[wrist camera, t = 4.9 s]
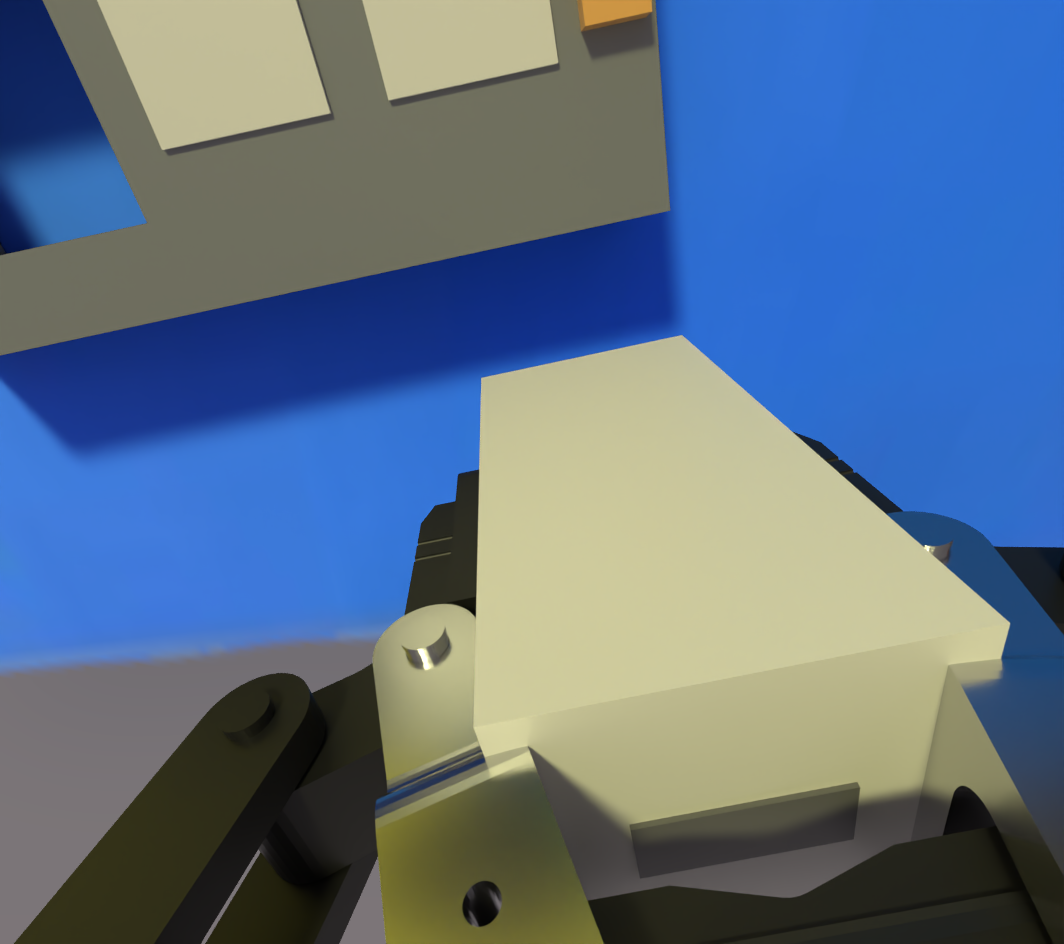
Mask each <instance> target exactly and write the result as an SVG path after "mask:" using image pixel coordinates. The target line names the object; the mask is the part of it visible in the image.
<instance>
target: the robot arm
mask: <svg viewBox="0 0 1064 944" xmlns="http://www.w3.org/2000/svg"><path fill="white" fill-rule="evenodd" d="M793 433H794V434H795V435H796V436H797V437H799V438H800V439H801V440H802V441H803V442H804V443H805V444H807V445H808V446H809V447H810V448H811V449H812V450H813V451H815V452H816V453H817V454H818V455H819V456H820V457H821V458H823V459H824V460H825V461H826V462H827V463H828V464H829V465H831V466H832V467H833V468H834V469H835V470H836V471H837V472H839V473H840V474H841V475H842V476H843V477H844V478H845V479H847V480H848V481H849V482H850V483H851V484H852V485H853V486H855V487H856V488H857V489H858V490H859V491H860V492H861V493H862V494H864V495H865V496H866V497H867V498H868V499H869V500H870V501H872V502H873V503H874V504H875V505H876V506H877V507H878V508H880V509H881V510H882V511H883V512H884V513H885V514H886V515H888V516H889V517H890V518H891V519H892V520H893V521H894V522H896V523H897V524H898V525H899V526H900V527H901V528H902V529H904V530H905V531H906V532H907V533H908V534H909V535H910V536H912V537H913V538H914V539H915V540H916V541H917V542H918V543H920V544H921V545H922V546H923V547H924V548H925V549H926V550H927V551H929V552H930V553H931V554H932V555H933V556H934V557H935V558H937V559H938V560H939V561H940V562H941V563H942V564H943V565H945V566H946V567H947V568H948V569H949V570H950V571H951V572H953V573H954V574H955V575H956V576H957V577H958V578H959V579H961V580H962V581H963V582H964V583H965V584H966V585H967V586H969V587H970V588H971V589H972V590H973V591H974V592H975V593H977V594H978V595H979V596H980V597H981V598H982V599H983V600H985V601H986V602H987V603H988V604H989V605H990V606H991V607H992V608H994V609H995V610H996V611H997V612H998V613H999V614H1000V615H1002V616H1003V617H1004V618H1005V619H1006V620H1007V621H1008V622H1010V627H1009V630H1008V634H1007V638H1006V641H1005V645H1004V649H1003V652H1002V656H1001V659H992V660H984V661H975V662H966V663H958V664H951V665H948V668H947V673H946V678H945V682H944V687H943V692H942V696H941V701H940V706H939V710H938V715H937V720H936V724H935V729H934V734H933V739H932V743H931V748H930V753H929V757H928V762H927V767H926V771H925V776H924V781H923V785H922V790H921V795H920V799H919V804H918V809H917V814H916V818H915V823H914V828H913V832H912V837H911V841H910V842H905V843H899V844H894V845H892V846H890V847H889V848H887V849H885V850H883V851H881V852H880V853H878V854H876V855H874V856H872V857H871V858H869V859H867V860H865V861H863V862H862V863H860V864H858V865H856V866H854V867H853V868H851V869H849V870H847V871H845V872H844V873H842V874H840V875H838V876H836V877H835V878H833V879H831V880H829V881H827V882H826V883H824V884H822V885H820V886H818V887H816V888H815V889H813V890H811V891H809V892H807V893H805V894H803V895H801V896H797V897H792V898H781V897H772V896H762V895H753V894H744V893H735V892H725V891H716V890H707V889H698V888H688V887H679V886H664V887H659V888H653V889H648V890H643V891H637V892H632V893H626V894H621V895H615V896H610V897H604V898H599V899H593V900H588V901H587V899H586V896H585V894H584V891H583V888H582V886H581V883H580V881H579V878H578V875H577V873H576V870H575V868H574V865H573V862H572V860H571V857H570V855H569V852H568V850H567V847H566V844H565V842H564V839H563V837H562V834H561V831H560V829H559V826H558V824H557V821H556V818H555V816H554V813H553V811H552V808H551V805H550V803H549V800H548V798H547V795H546V792H545V790H544V787H543V785H542V782H541V780H540V777H539V774H538V772H537V769H536V767H535V764H534V761H533V759H532V756H531V754H530V751H529V749H528V746H524V747H520V748H516V749H513V750H509V751H505V752H502V753H498V754H494V755H491V756H487V757H484V755H483V752H482V749H481V747H480V744H479V741H478V739H477V736H476V733H475V730H474V728H473V725H474V681H475V638H476V594H477V551H478V507H479V470H475V471H470V472H465V473H460V474H458V481H457V492H456V501H455V502H450V503H445V504H441V505H436V506H435V507H434V508H433V509H432V510H431V512H430V513H429V514H428V516H427V517H426V518H425V519H424V521H423V522H422V523H421V527H420V533H419V538H418V546H417V549H416V555H415V560H416V562H414V566H413V571H412V577H411V582H410V588H409V593H408V599H407V604H406V610H405V616H403V617H401V618H400V619H399V620H397V621H396V622H394V623H393V624H392V625H391V626H390V627H389V628H388V629H387V630H386V631H385V632H384V633H383V634H382V636H381V637H380V639H379V640H378V642H377V644H376V647H375V649H374V653H373V663H372V664H370V665H369V666H367V667H366V668H364V669H362V670H361V671H359V672H357V673H355V674H353V675H351V676H349V677H346V678H344V679H342V680H340V681H338V682H335V683H334V684H331V685H329V686H327V687H324V688H322V689H320V690H318V691H316V692H314V693H311V691H310V689H309V688H308V686H307V684H306V683H305V682H304V680H302V679H301V678H300V677H298V676H296V675H293V674H288V673H276V674H270V675H266V676H262V677H259V678H256V679H254V680H252V681H249V682H247V683H245V684H243V685H241V686H239V687H238V688H236V689H235V690H233V691H231V692H230V693H229V694H227V695H226V696H225V697H223V698H222V699H221V700H220V701H219V702H217V703H216V704H215V705H214V706H213V707H212V708H211V709H210V710H209V711H208V712H207V714H206V715H205V716H204V717H203V718H202V719H201V721H200V722H199V723H198V724H197V725H196V726H195V728H194V729H193V730H192V731H191V733H190V734H189V735H188V736H187V737H186V738H185V740H184V741H183V742H182V743H181V744H180V746H179V747H178V748H177V749H176V751H175V752H174V753H173V754H172V755H171V756H170V758H169V759H168V760H167V761H166V762H165V764H164V765H163V766H162V767H161V768H160V770H159V771H158V772H157V773H156V774H155V776H154V777H153V778H152V779H151V781H149V783H148V784H147V785H146V786H145V788H144V789H143V790H142V791H141V792H140V793H139V795H138V796H137V797H136V798H135V799H134V801H133V802H132V803H131V804H130V805H129V807H128V808H127V809H126V810H125V811H124V813H123V814H122V815H121V816H120V817H119V819H118V820H117V821H116V822H115V823H114V825H113V826H112V827H111V828H110V830H109V831H108V832H107V833H106V834H105V835H104V837H103V838H102V839H101V840H100V841H99V842H98V844H97V845H96V846H95V847H94V848H93V850H92V851H91V852H90V853H89V854H88V856H87V857H86V858H85V859H84V860H83V862H82V863H81V864H80V865H79V866H78V868H77V869H76V870H75V871H74V872H73V874H72V875H71V876H70V877H69V878H68V880H67V881H66V882H65V883H64V884H63V886H62V887H61V888H60V889H59V890H58V891H57V893H56V894H55V895H54V896H53V898H52V899H51V900H50V901H49V902H48V903H47V905H46V906H45V907H44V908H43V909H42V911H41V912H40V913H39V915H37V917H36V918H35V919H34V920H33V921H32V923H31V924H30V925H29V926H28V927H27V929H26V930H25V931H24V932H23V934H22V935H21V936H20V937H19V938H18V939H17V941H16V942H15V943H14V944H201V943H202V941H203V939H204V937H205V935H206V934H207V932H208V931H209V929H210V927H211V925H212V924H213V922H214V921H215V919H216V918H217V916H218V914H219V913H220V911H221V909H222V908H223V906H224V904H225V903H226V901H227V900H228V898H229V896H230V895H231V893H232V891H233V890H234V888H235V886H236V885H237V883H238V881H239V880H240V878H241V877H242V875H243V873H244V872H245V870H246V868H247V867H248V865H249V864H250V862H251V860H252V858H253V857H254V855H255V854H256V852H257V850H258V849H259V851H260V852H261V853H260V854H259V856H258V858H257V859H256V861H255V863H254V864H253V866H252V868H251V869H250V871H249V873H248V874H247V876H246V877H245V879H244V881H243V882H242V884H241V886H240V887H239V889H238V891H237V892H236V894H235V896H234V897H233V899H232V901H231V902H230V904H229V906H228V907H227V909H226V911H225V912H224V914H223V915H222V917H221V919H220V921H219V922H218V924H217V926H216V927H215V929H214V930H213V932H212V934H211V935H210V937H209V938H208V940H207V942H206V943H205V944H339V943H340V941H341V938H342V936H343V934H344V932H345V929H346V927H347V925H348V923H349V920H350V918H351V916H352V913H353V911H354V909H355V907H356V904H357V902H358V900H359V898H360V896H361V893H362V891H363V889H364V887H365V884H366V882H367V880H368V877H369V875H370V873H371V871H372V868H373V866H374V864H375V861H376V859H377V857H378V860H379V871H380V881H381V893H382V902H383V915H384V925H385V936H386V944H1064V548H1057V547H995V546H993V545H992V544H991V543H990V542H989V540H988V539H987V538H986V537H985V536H984V535H983V534H981V533H980V532H979V531H977V530H976V529H974V528H973V527H971V526H969V525H967V524H965V523H963V522H961V521H958V520H956V519H953V518H949V517H946V516H942V515H938V514H933V513H926V512H915V511H902V510H901V509H900V508H899V507H898V506H896V505H895V504H894V503H893V502H892V501H890V500H889V499H888V498H887V497H886V496H884V495H883V494H882V493H881V492H880V491H878V490H877V489H876V488H875V487H874V486H872V485H871V484H870V483H869V482H868V481H866V480H865V479H864V478H863V477H862V476H860V475H859V474H858V473H854V472H853V469H852V468H851V467H850V466H848V465H847V464H846V463H845V462H844V461H842V460H839V459H838V456H836V455H835V454H834V453H833V452H832V451H830V450H829V449H828V448H827V447H826V446H824V445H823V444H822V443H821V442H819V441H816V440H813V439H811V438H808V437H805V436H803V435H800V434H798V433H795V432H793Z"/></svg>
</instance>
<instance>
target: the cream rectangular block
mask: <svg viewBox="0 0 1064 944" xmlns="http://www.w3.org/2000/svg"><path fill="white" fill-rule="evenodd" d="M1009 627H1010V622H1008V621H1007V620H1006V619H1005V618H1004V617H1003V616H1002V615H1000V614H999V613H998V612H997V611H996V610H995V609H994V608H992V607H991V606H990V605H989V604H988V603H987V602H986V601H985V600H983V599H982V598H981V597H980V596H979V595H978V594H977V593H975V592H974V591H973V590H972V589H971V588H970V587H969V586H967V585H966V584H965V583H964V582H963V581H962V580H961V579H959V578H958V577H957V576H956V575H955V574H954V573H953V572H951V571H950V570H949V569H948V568H947V567H946V566H945V565H943V564H942V563H941V562H940V561H939V560H938V559H937V558H935V557H934V556H933V555H932V554H931V553H930V552H929V551H927V550H926V549H925V548H924V547H923V546H922V545H921V544H920V543H918V542H917V541H916V540H915V539H914V538H913V537H912V536H910V535H909V534H908V533H907V532H906V531H905V530H904V529H902V528H901V527H900V526H899V525H898V524H897V523H896V522H894V521H893V520H892V519H891V518H890V517H889V516H888V515H886V514H885V513H884V512H883V511H882V510H881V509H880V508H878V507H877V506H876V505H875V504H874V503H873V502H872V501H870V500H869V499H868V498H867V497H866V496H865V495H864V494H862V493H861V492H860V491H859V490H858V489H857V488H856V487H855V486H853V485H852V484H851V483H850V482H849V481H848V480H847V479H845V478H844V477H843V476H842V475H841V474H840V473H839V472H837V471H836V470H835V469H834V468H833V467H832V466H831V465H829V464H828V463H827V462H826V461H825V460H824V459H823V458H821V457H820V456H819V455H818V454H817V453H816V452H815V451H813V450H812V449H811V448H810V447H809V446H808V445H807V444H805V443H804V442H803V441H802V440H801V439H800V438H799V437H797V436H796V435H795V434H794V433H793V432H792V431H791V430H789V429H788V428H787V427H786V426H785V425H784V424H783V423H782V422H780V421H779V420H778V419H777V418H776V417H775V416H774V415H772V414H771V413H770V412H769V411H768V410H767V409H766V408H764V407H763V406H762V405H761V404H760V403H759V402H758V401H756V400H755V399H754V398H753V397H752V396H751V395H750V394H748V393H747V392H746V391H745V390H744V389H743V388H742V387H740V386H739V385H738V384H737V383H736V382H735V381H734V380H732V379H731V378H730V377H729V376H728V375H727V374H726V373H724V372H723V371H722V370H721V369H720V368H719V367H718V366H717V365H715V364H714V363H713V362H712V361H711V360H710V359H709V358H707V357H706V356H705V355H704V354H703V353H702V352H701V351H699V350H698V349H697V348H696V347H695V346H694V345H693V344H691V343H690V342H689V341H688V340H687V339H686V338H685V337H683V336H682V335H680V336H676V337H671V338H666V339H662V340H657V341H652V342H648V343H643V344H638V345H633V346H629V347H624V348H619V349H615V350H610V351H605V352H601V353H596V354H591V355H587V356H582V357H577V358H573V359H568V360H563V361H559V362H554V363H549V364H545V365H540V366H535V367H531V368H526V369H521V370H517V371H512V372H507V373H503V374H498V375H493V376H488V377H484V378H481V420H480V464H479V507H478V551H477V594H476V638H475V681H474V725H473V728H474V730H475V733H476V736H477V739H478V741H479V744H480V747H481V749H482V752H483V755H484V757H487V756H491V755H494V754H498V753H502V752H505V751H509V750H513V749H516V748H520V747H524V746H528V749H529V751H530V754H531V756H532V759H533V761H534V764H535V767H536V769H537V772H538V774H539V777H540V780H541V782H542V785H543V787H544V790H545V792H546V795H547V798H548V800H549V803H550V805H551V808H552V811H553V813H554V816H555V818H556V821H557V824H558V826H559V829H560V831H561V834H562V837H563V839H564V842H565V844H566V847H567V850H568V852H569V855H570V857H571V860H572V862H573V865H574V868H575V870H576V873H577V875H578V878H579V881H580V883H581V886H582V888H583V891H584V894H585V896H586V899H587V901H588V900H593V899H599V898H604V897H610V896H615V895H621V894H626V893H632V892H637V891H643V890H648V889H653V888H659V887H664V886H679V887H688V888H698V889H707V890H716V891H725V892H735V893H744V894H753V895H762V896H772V897H781V898H792V897H797V896H801V895H803V894H805V893H807V892H809V891H811V890H813V889H815V888H816V887H818V886H820V885H822V884H824V883H826V882H827V881H829V880H831V879H833V878H835V877H836V876H838V875H840V874H842V873H844V872H845V871H847V870H849V869H851V868H853V867H854V866H856V865H858V864H860V863H862V862H863V861H865V860H867V859H869V858H871V857H872V856H874V855H876V854H878V853H880V852H881V851H883V850H885V849H887V848H889V847H890V846H892V845H894V844H899V843H905V842H910V841H911V837H912V832H913V828H914V823H915V818H916V814H917V809H918V804H919V799H920V795H921V790H922V785H923V781H924V776H925V771H926V767H927V762H928V757H929V753H930V748H931V743H932V739H933V734H934V729H935V724H936V720H937V715H938V710H939V706H940V701H941V696H942V692H943V687H944V682H945V678H946V673H947V668H948V665H951V664H958V663H966V662H975V661H984V660H992V659H1001V656H1002V652H1003V649H1004V645H1005V641H1006V638H1007V634H1008V630H1009Z"/></svg>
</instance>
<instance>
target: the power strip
mask: <svg viewBox="0 0 1064 944" xmlns="http://www.w3.org/2000/svg"><path fill="white" fill-rule="evenodd" d="M43 2H44V4H45V7H46V9H47V11H48V13H49V15H50V17H51V19H52V21H53V24H54V26H55V28H56V30H57V32H58V34H59V36H60V38H61V41H62V43H63V45H64V47H65V49H66V51H67V53H68V55H69V58H70V60H71V62H72V64H73V66H74V68H75V70H76V72H77V75H78V77H79V79H80V81H81V83H82V85H83V87H84V89H85V92H86V94H87V96H88V98H89V100H90V102H91V104H92V106H93V109H94V111H95V113H96V115H97V117H98V119H99V121H100V123H101V126H102V128H103V130H104V132H105V134H106V136H107V138H108V140H109V143H110V145H111V147H112V149H113V151H114V153H115V155H116V157H117V160H118V162H119V164H120V166H121V168H122V170H123V172H124V174H125V177H126V179H127V181H128V183H129V185H130V187H131V189H132V191H133V194H134V196H135V198H136V200H137V202H138V204H139V206H140V208H141V211H142V213H143V215H144V217H145V219H146V221H147V223H146V224H142V225H137V226H133V227H128V228H123V229H119V230H114V231H110V232H105V233H101V234H96V235H91V236H87V237H82V238H78V239H73V240H68V241H64V242H59V243H55V244H50V245H46V246H41V247H36V248H32V249H27V250H23V251H18V252H14V253H9V254H6V253H5V251H4V249H3V248H2V246H1V244H0V355H4V354H9V353H14V352H18V351H23V350H27V349H32V348H37V347H41V346H46V345H51V344H55V343H60V342H64V341H69V340H74V339H78V338H83V337H88V336H92V335H97V334H101V333H106V332H111V331H115V330H120V329H125V328H129V327H134V326H138V325H143V324H148V323H152V322H157V321H162V320H166V319H171V318H176V317H180V316H185V315H189V314H194V313H199V312H203V311H208V310H213V309H217V308H222V307H226V306H231V305H236V304H240V303H245V302H250V301H254V300H259V299H263V298H268V297H273V296H277V295H282V294H287V293H291V292H296V291H300V290H305V289H310V288H314V287H319V286H324V285H328V284H333V283H337V282H342V281H347V280H351V279H356V278H361V277H365V276H370V275H374V274H379V273H384V272H388V271H393V270H398V269H402V268H407V267H411V266H416V265H421V264H425V263H430V262H435V261H439V260H444V259H448V258H453V257H458V256H462V255H467V254H472V253H476V252H481V251H485V250H490V249H495V248H499V247H504V246H509V245H513V244H518V243H522V242H527V241H532V240H536V239H541V238H546V237H550V236H555V235H559V234H564V233H569V232H573V231H578V230H583V229H587V228H592V227H596V226H601V225H606V224H610V223H615V222H620V221H624V220H629V219H633V218H638V217H643V216H647V215H652V214H657V213H661V212H666V211H670V202H669V188H668V173H667V159H666V145H665V131H664V116H663V102H662V88H661V74H660V59H659V45H658V31H657V17H656V2H655V0H43Z"/></svg>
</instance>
